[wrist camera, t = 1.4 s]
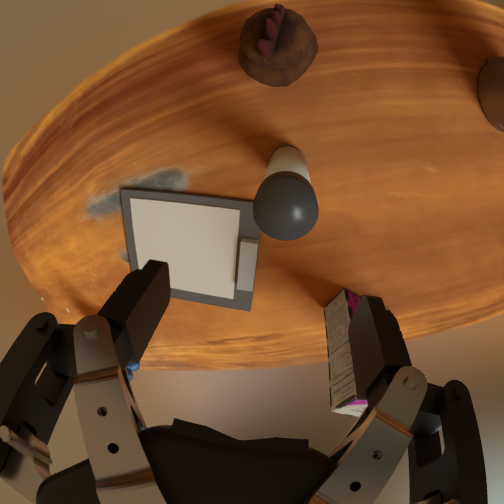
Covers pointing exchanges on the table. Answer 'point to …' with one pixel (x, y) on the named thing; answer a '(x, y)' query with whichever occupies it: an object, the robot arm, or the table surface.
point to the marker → (286, 197)
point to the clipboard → (195, 243)
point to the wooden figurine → (276, 46)
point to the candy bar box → (342, 355)
